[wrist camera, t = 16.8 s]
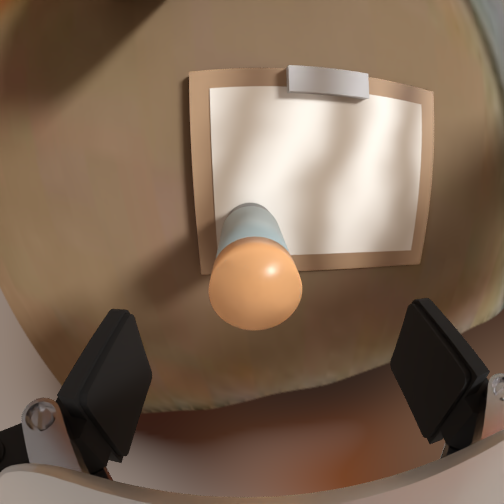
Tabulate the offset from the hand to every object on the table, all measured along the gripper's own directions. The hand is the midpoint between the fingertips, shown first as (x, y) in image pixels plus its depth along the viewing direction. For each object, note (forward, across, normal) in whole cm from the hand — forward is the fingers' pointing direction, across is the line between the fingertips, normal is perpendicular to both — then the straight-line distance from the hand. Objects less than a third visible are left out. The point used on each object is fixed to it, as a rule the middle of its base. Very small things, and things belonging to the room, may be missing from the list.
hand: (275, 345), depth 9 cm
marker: (+14, +1, 0) cm, 14 cm away
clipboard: (+15, -5, -4) cm, 16 cm away
